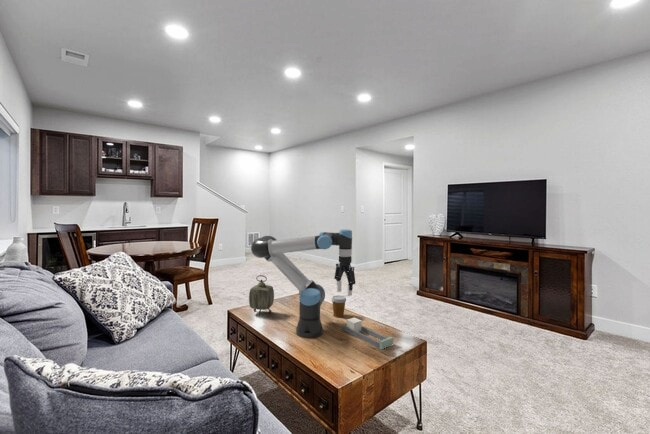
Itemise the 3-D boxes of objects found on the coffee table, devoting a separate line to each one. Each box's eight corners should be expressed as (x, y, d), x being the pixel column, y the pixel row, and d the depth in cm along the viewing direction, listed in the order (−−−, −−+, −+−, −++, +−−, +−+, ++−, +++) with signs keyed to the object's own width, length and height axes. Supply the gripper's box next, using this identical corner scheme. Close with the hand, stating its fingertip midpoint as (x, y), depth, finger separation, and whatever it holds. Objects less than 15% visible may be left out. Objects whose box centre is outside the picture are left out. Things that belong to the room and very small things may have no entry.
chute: (381, 349, 157) (382, 342, 157) (341, 329, 181) (342, 322, 181) (393, 345, 163) (393, 337, 162) (352, 325, 187) (353, 319, 186)
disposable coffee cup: (335, 312, 209) (336, 294, 209) (348, 314, 204) (348, 296, 204) (328, 316, 201) (328, 298, 200) (341, 319, 196) (342, 300, 196)
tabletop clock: (273, 311, 207) (274, 274, 206) (269, 316, 198) (269, 277, 197) (252, 310, 209) (253, 273, 208) (247, 315, 200) (247, 276, 199)
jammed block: (353, 333, 175) (353, 323, 175) (346, 329, 180) (346, 319, 180) (361, 330, 179) (361, 320, 179) (354, 327, 184) (354, 317, 184)
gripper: (362, 258, 178) (361, 297, 180) (338, 252, 195) (337, 288, 196) (353, 259, 174) (352, 299, 175) (328, 253, 191) (328, 290, 192)
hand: (344, 293), depth 186 cm, fingers open, 9 cm apart
